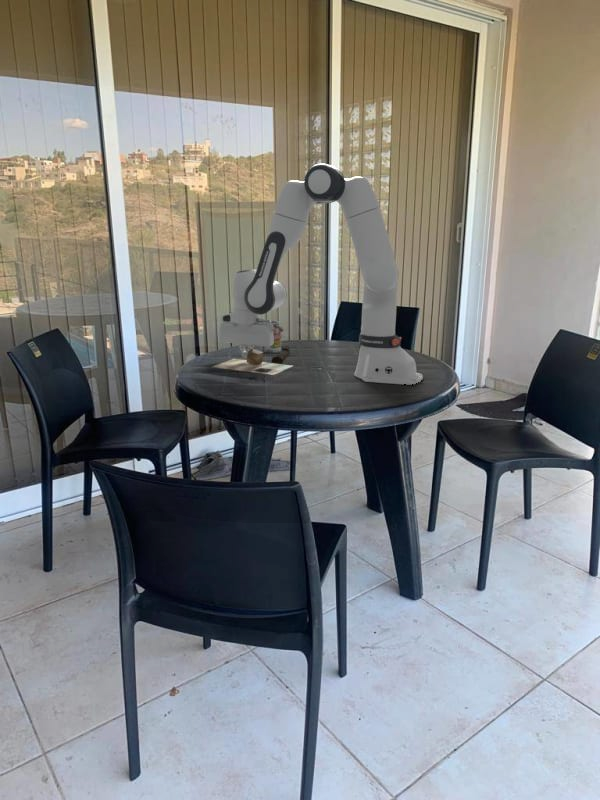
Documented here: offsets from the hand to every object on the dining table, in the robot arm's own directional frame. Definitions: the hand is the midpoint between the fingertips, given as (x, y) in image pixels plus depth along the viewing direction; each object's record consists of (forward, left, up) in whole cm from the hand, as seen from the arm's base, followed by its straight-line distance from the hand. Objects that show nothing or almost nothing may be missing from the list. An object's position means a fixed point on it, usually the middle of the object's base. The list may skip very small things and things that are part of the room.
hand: (246, 356), depth 202 cm
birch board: (-5, +4, -4) cm, 7 cm away
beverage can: (+4, -27, -4) cm, 28 cm away
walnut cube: (-3, 0, -2) cm, 4 cm away
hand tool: (-7, -14, -4) cm, 16 cm away
